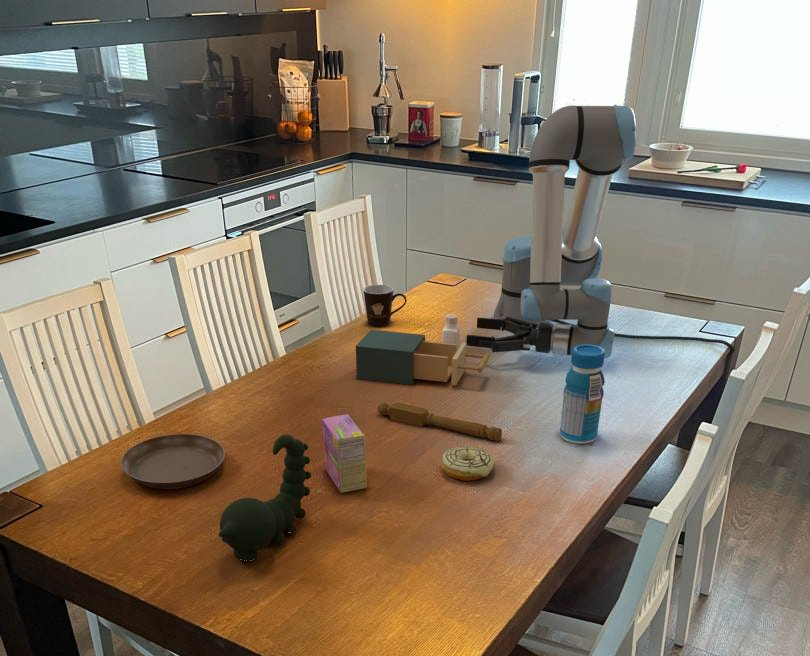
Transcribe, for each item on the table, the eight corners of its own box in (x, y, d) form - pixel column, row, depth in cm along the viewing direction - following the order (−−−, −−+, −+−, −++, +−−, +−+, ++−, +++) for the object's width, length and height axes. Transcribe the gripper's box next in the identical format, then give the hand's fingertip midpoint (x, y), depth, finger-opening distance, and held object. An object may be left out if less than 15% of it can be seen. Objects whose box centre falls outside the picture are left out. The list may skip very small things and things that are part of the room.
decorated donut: (495, 484, 171) (496, 468, 169) (441, 483, 171) (442, 467, 169) (492, 459, 179) (493, 443, 177) (441, 458, 180) (441, 442, 178)
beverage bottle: (557, 442, 186) (566, 355, 175) (560, 426, 192) (569, 340, 181) (596, 447, 184) (608, 359, 173) (598, 429, 191) (610, 344, 180)
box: (324, 470, 176) (321, 417, 169) (351, 465, 178) (349, 413, 171) (339, 494, 168) (337, 440, 161) (367, 489, 169) (365, 435, 163)
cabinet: (425, 366, 221) (425, 334, 216) (412, 385, 212) (412, 351, 207) (371, 360, 225) (370, 329, 220) (356, 378, 215) (355, 345, 210)
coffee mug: (358, 325, 247) (357, 291, 241) (373, 316, 253) (372, 282, 248) (394, 332, 242) (393, 297, 237) (408, 322, 249) (408, 288, 243)
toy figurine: (282, 512, 165) (200, 571, 145) (278, 420, 156) (190, 469, 136) (323, 524, 162) (245, 585, 142) (322, 431, 152) (239, 482, 133)
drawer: (489, 371, 216) (491, 345, 213) (480, 388, 208) (482, 361, 204) (414, 363, 221) (414, 338, 217) (403, 379, 212) (402, 353, 208)
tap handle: (497, 431, 184) (375, 404, 195) (496, 444, 185) (375, 416, 197) (502, 425, 186) (381, 399, 197) (502, 438, 188) (382, 411, 199)
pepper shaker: (459, 348, 232) (460, 314, 227) (456, 353, 229) (457, 319, 223) (445, 346, 233) (445, 312, 228) (441, 352, 230) (442, 317, 224)
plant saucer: (246, 461, 179) (245, 447, 177) (178, 506, 164) (175, 491, 162) (173, 438, 188) (171, 425, 186) (101, 479, 173) (98, 464, 171)
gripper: (544, 370, 213) (461, 362, 218) (557, 336, 233) (480, 329, 238) (547, 341, 209) (462, 333, 214) (559, 309, 229) (481, 302, 234)
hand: (471, 331), depth 226 cm, fingers open, 13 cm apart
